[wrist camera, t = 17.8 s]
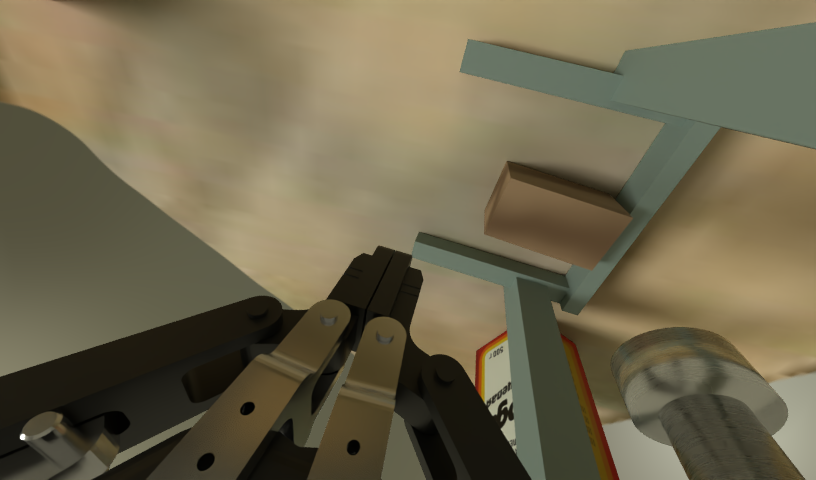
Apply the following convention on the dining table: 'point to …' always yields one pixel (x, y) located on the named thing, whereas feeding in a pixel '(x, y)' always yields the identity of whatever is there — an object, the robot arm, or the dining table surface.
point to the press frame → (625, 194)
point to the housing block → (553, 216)
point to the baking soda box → (499, 401)
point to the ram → (703, 404)
